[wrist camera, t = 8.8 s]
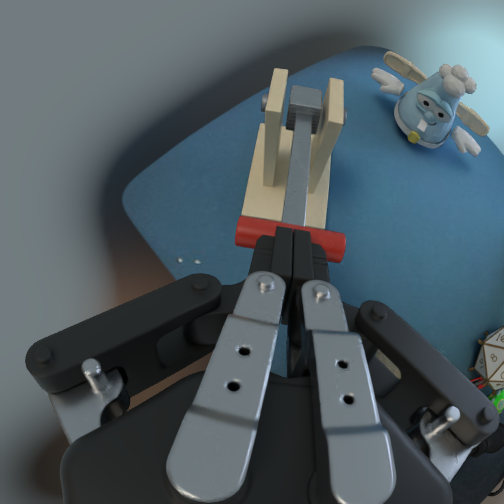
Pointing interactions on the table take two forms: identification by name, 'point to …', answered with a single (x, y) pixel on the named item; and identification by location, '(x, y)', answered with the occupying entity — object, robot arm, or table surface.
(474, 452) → the chess piece
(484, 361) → the game die
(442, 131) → the toy figure
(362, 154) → the table surface
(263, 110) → the lever stand
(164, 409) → the robot arm
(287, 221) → the lever
